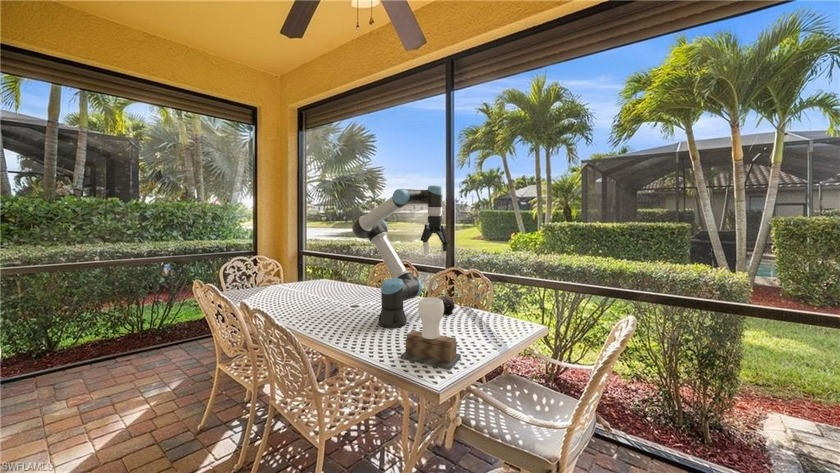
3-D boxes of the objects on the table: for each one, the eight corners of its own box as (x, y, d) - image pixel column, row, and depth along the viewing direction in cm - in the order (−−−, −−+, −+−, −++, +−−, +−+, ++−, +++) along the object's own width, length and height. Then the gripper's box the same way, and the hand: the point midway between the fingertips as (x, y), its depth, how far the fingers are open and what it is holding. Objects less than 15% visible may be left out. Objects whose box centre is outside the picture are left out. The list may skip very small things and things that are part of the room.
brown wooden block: (400, 358, 145) (400, 336, 144) (414, 347, 156) (414, 327, 155) (450, 369, 135) (450, 346, 134) (460, 357, 146) (461, 335, 145)
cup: (441, 341, 139) (442, 304, 137) (415, 339, 141) (415, 303, 139) (445, 332, 149) (445, 297, 148) (420, 330, 151) (421, 296, 150)
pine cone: (423, 310, 210) (424, 294, 209) (453, 310, 211) (453, 294, 210) (425, 316, 200) (425, 299, 199) (455, 315, 201) (456, 298, 200)
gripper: (457, 216, 175) (456, 257, 177) (424, 214, 194) (424, 252, 196) (446, 216, 170) (446, 259, 172) (414, 214, 189) (414, 253, 191)
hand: (434, 255), depth 184 cm, fingers open, 13 cm apart
